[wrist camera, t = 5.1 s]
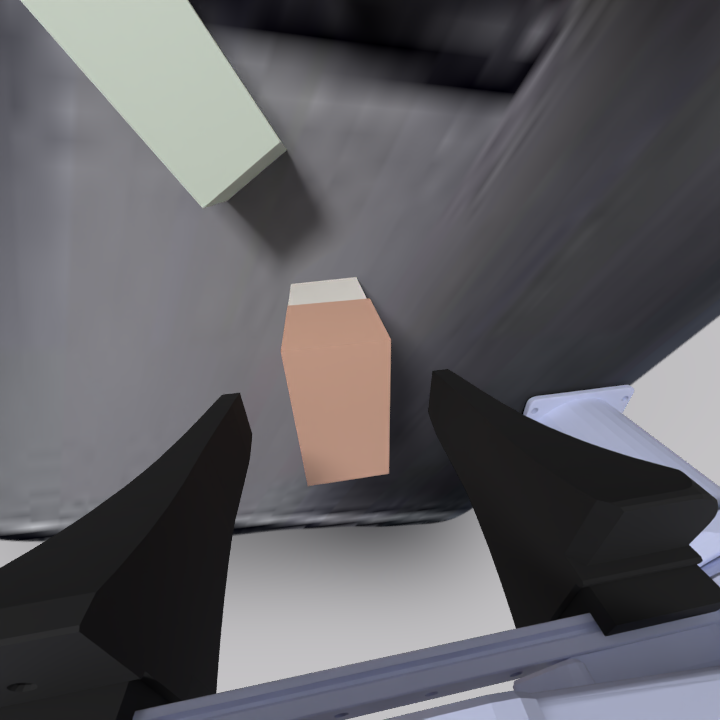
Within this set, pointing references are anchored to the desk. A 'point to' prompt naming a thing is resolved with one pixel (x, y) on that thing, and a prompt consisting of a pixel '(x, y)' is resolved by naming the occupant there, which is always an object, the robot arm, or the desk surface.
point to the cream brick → (325, 291)
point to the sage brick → (168, 88)
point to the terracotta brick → (339, 388)
